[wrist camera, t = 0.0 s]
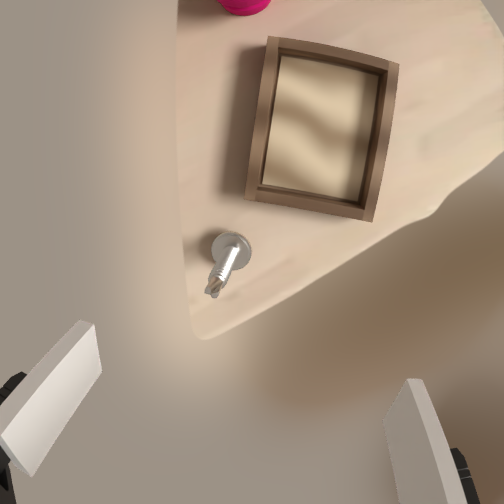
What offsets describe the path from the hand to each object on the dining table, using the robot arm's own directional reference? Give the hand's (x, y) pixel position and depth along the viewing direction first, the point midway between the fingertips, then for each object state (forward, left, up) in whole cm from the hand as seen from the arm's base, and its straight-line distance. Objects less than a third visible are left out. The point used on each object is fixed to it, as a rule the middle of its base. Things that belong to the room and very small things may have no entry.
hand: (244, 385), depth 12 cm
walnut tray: (-11, +4, -28) cm, 30 cm away
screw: (+5, -4, -28) cm, 29 cm away
